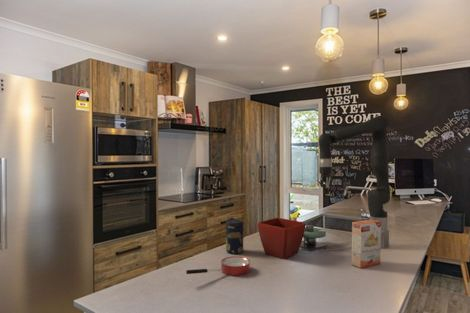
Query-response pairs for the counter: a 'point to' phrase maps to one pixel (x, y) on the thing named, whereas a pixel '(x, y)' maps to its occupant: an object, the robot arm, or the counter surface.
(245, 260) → the frying pan
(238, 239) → the canister
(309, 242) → the pedestal
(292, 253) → the plant pot
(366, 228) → the cracker box
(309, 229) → the handwheel
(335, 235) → the counter surface
